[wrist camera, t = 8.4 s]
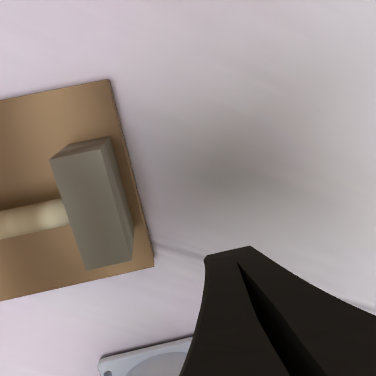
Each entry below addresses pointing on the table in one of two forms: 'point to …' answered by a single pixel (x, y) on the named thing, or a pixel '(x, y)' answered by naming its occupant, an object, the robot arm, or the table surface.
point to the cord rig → (66, 192)
